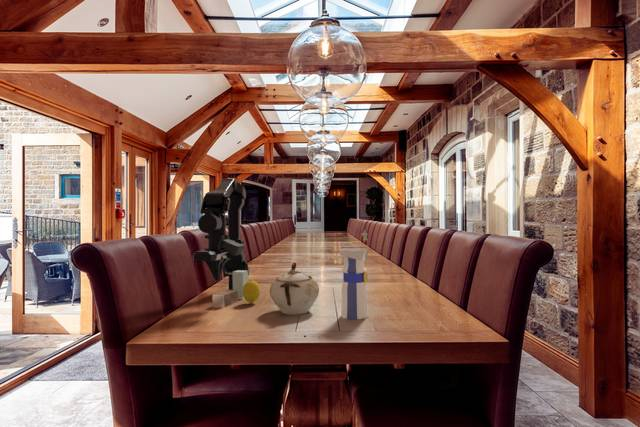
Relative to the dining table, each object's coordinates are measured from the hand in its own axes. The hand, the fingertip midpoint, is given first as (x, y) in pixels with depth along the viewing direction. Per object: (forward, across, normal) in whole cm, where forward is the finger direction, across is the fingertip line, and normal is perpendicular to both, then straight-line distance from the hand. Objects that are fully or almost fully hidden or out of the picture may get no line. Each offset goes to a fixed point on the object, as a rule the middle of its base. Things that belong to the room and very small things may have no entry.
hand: (217, 280), depth 140 cm
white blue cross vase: (+9, 0, -45) cm, 46 cm away
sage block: (+9, +16, 0) cm, 18 cm away
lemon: (+9, +8, -8) cm, 14 cm away
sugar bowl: (+9, +1, -26) cm, 27 cm away
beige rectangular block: (+7, 0, 0) cm, 7 cm away
